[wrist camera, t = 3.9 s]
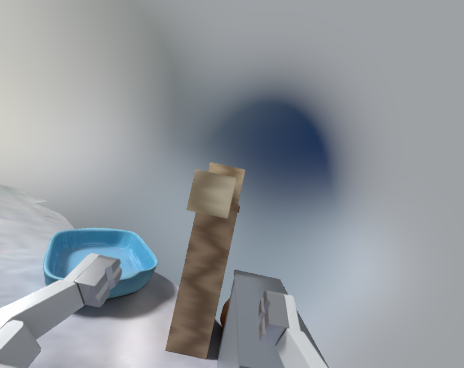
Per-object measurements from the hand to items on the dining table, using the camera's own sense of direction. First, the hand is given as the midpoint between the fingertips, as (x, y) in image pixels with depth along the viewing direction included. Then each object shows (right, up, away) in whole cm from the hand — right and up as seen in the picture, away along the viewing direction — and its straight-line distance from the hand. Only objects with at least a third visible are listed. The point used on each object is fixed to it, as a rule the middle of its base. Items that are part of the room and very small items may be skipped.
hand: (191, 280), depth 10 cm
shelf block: (-6, -23, +28) cm, 37 cm away
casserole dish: (-34, -18, +39) cm, 55 cm away
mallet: (0, +2, +20) cm, 20 cm away
